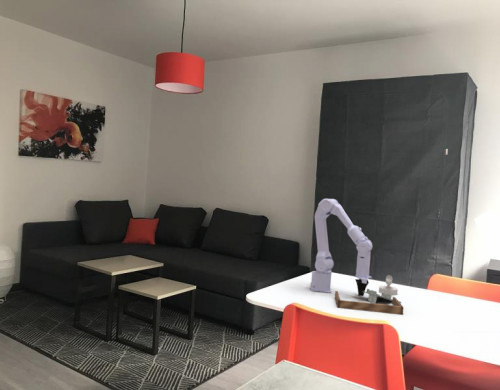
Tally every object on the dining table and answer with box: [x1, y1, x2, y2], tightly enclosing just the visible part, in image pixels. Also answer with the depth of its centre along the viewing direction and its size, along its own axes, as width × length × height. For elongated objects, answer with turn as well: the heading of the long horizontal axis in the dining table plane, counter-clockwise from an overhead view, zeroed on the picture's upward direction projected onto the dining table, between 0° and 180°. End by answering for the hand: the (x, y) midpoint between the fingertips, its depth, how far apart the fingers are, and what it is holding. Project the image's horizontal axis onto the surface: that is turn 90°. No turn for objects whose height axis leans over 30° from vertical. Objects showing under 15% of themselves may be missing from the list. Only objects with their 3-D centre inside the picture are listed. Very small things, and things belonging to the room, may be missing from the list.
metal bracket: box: [362, 288, 402, 304], centre depth 188 cm, size 14×6×15 cm
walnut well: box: [334, 290, 404, 315], centre depth 178 cm, size 26×16×3 cm, turn 82°
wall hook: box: [378, 274, 399, 296], centre depth 204 cm, size 9×10×10 cm
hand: (360, 295), depth 190 cm, fingers closed
